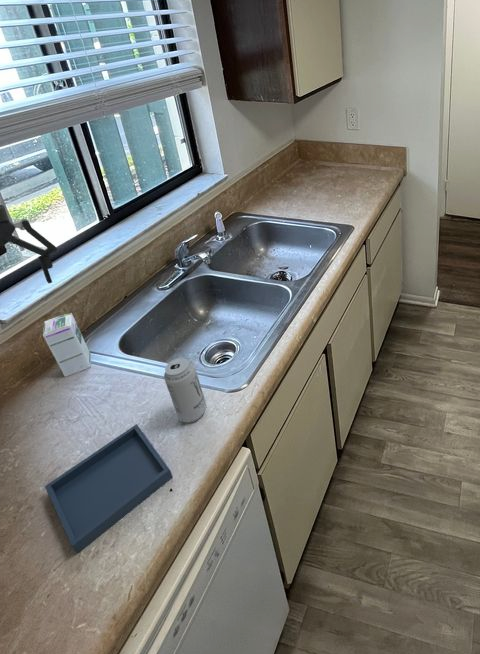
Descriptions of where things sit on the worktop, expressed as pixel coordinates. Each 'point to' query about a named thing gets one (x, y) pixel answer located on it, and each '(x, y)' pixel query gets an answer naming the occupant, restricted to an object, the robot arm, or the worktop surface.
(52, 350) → the syrup box
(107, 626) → the worktop surface
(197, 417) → the energy drink can
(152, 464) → the tray
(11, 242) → the robot arm
